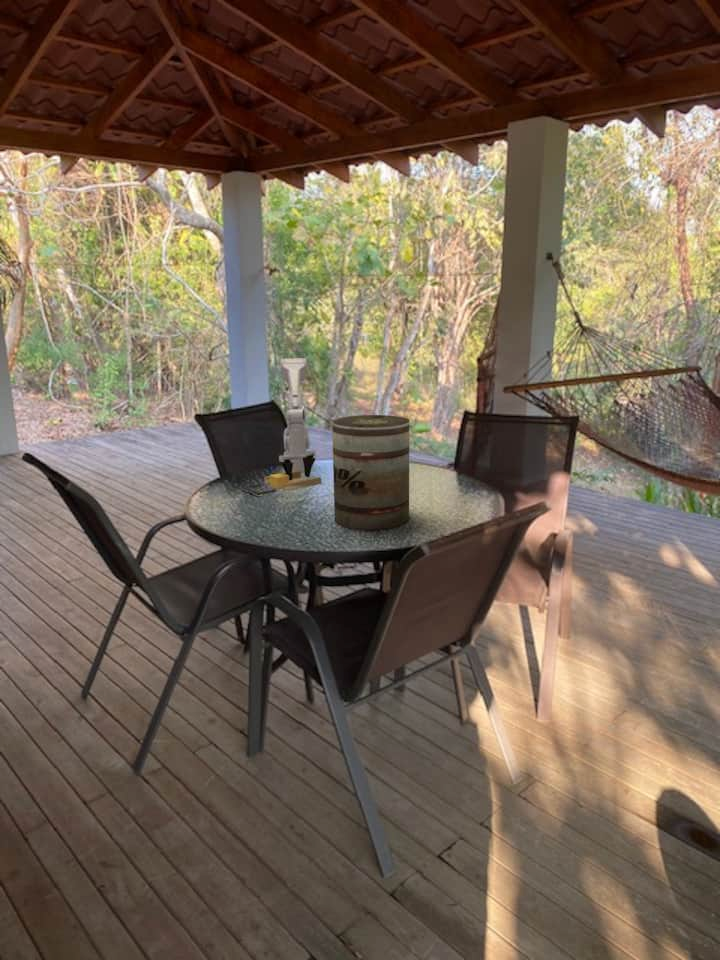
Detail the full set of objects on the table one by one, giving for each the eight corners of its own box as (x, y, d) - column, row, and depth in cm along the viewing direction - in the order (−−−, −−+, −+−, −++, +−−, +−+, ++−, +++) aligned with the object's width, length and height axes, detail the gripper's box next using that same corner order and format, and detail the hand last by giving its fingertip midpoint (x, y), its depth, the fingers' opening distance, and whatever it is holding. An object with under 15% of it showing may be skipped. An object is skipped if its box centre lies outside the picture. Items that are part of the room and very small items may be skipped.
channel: (264, 485, 242) (264, 477, 241) (299, 478, 251) (298, 470, 250) (285, 493, 231) (285, 484, 230) (321, 485, 240) (320, 477, 239)
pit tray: (242, 490, 235) (242, 487, 235) (259, 487, 239) (259, 483, 239) (258, 497, 227) (258, 493, 226) (275, 493, 231) (275, 489, 230)
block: (270, 485, 238) (269, 475, 237) (282, 483, 241) (281, 472, 240) (277, 488, 234) (276, 477, 233) (289, 486, 237) (288, 475, 236)
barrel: (332, 510, 211) (330, 416, 203) (402, 507, 213) (402, 414, 205) (337, 533, 189) (334, 428, 181) (415, 529, 191) (415, 426, 184)
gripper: (285, 445, 231) (287, 483, 235) (320, 440, 240) (321, 477, 243) (275, 443, 237) (277, 480, 240) (309, 437, 246) (310, 473, 249)
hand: (298, 478), depth 242 cm, fingers open, 7 cm apart
